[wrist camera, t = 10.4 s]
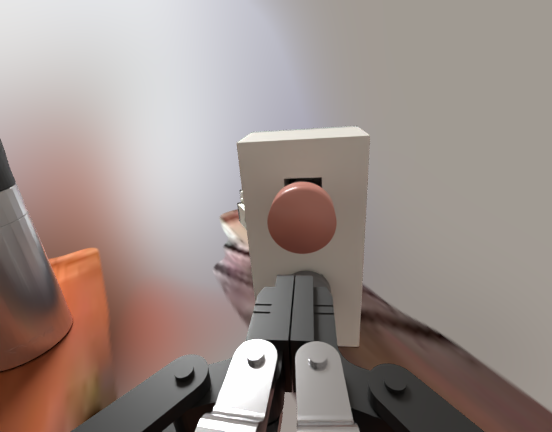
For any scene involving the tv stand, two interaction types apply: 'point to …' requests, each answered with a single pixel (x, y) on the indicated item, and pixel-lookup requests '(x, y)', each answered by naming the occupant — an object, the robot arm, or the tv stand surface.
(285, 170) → the mount
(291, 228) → the knob
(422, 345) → the tv stand surface
